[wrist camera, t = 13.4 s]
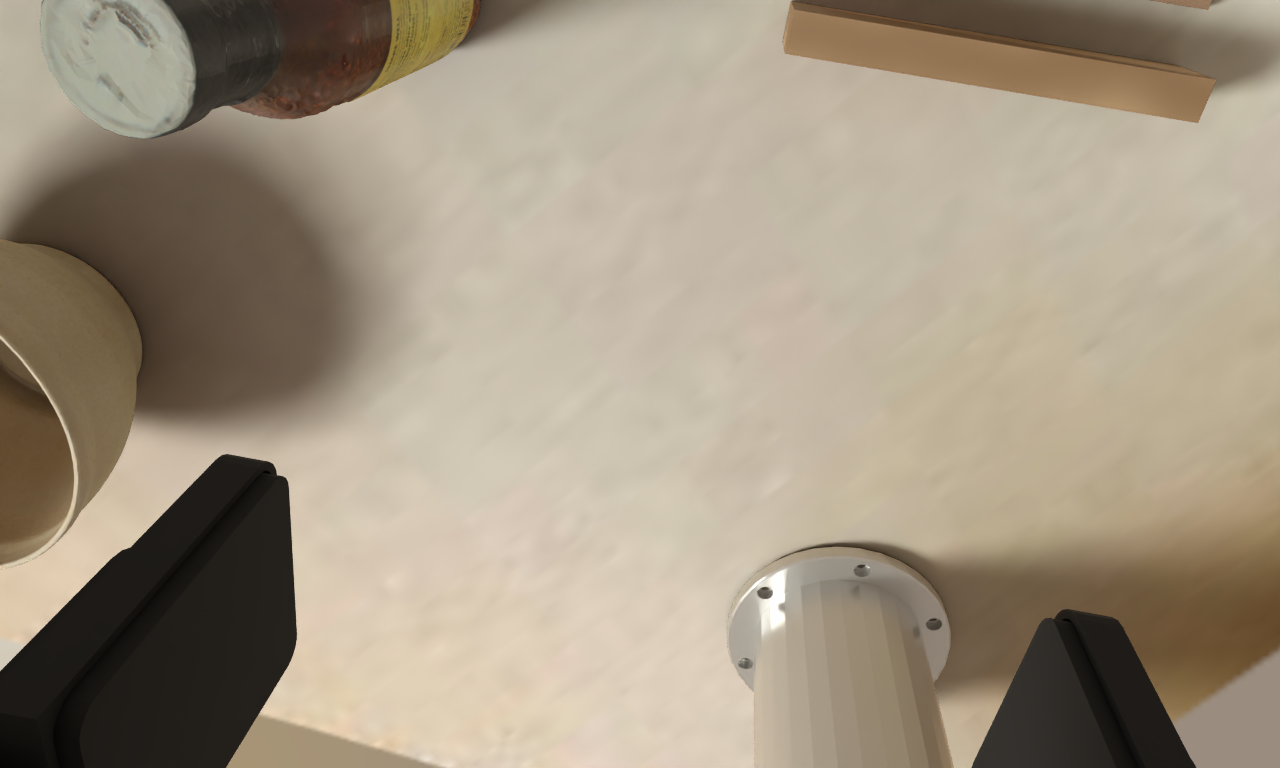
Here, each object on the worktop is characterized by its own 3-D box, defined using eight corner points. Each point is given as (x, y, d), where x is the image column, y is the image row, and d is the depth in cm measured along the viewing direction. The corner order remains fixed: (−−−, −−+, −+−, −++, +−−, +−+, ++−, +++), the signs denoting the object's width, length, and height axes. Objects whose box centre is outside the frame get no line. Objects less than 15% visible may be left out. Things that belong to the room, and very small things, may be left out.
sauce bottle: (459, -117, 36) (191, -142, 19) (505, 42, 39) (307, 148, 22) (316, -75, 38) (-58, -61, 20) (370, 76, 41) (80, 203, 23)
